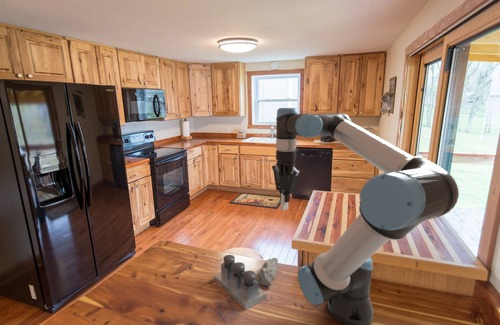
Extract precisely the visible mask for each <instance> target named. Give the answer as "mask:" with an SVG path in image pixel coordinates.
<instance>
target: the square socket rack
mask: <svg viewBox="0 0 500 325" xmlns="http://www.w3.org/2000/svg"><path fill="white" fill-rule="evenodd" d="M214 281H215V282H217V283H218V285H219V286H220V287H222V289H223V290H225V291H226V293H227V294H229V295H230V296H231V297H232V299H234V301H236V303H238V305H240V307H242V309H243V310H244V311H247V310H249V309H251V308H252V307H254V306H256V305H258V304H259V303H261V302H263V301H264V300H265V299H267V293H266V292H265V291H264V290H263V289H262V288H261V287H260V283H259V282H258V280H256V282H255V283H254V284H252V285H250V286H248V285H247V284H246V283H244V274H242V275H240V276H237V275H235V274H234V273H233V266H232V267H229V268H227V267H226V266H225V265H224V262H222V263H221V264H220V272H219V273H215V275H214Z"/></svg>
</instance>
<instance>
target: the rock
mask: <svg viewBox="0 0 500 325" xmlns="http://www.w3.org/2000/svg"><path fill="white" fill-rule="evenodd" d="M278 262H279V260H278V258H277V257H272V258H269V259H267V260H265V262H264V263H263V264H262V267H261V268H260V270H259V271H258V273H257V276H256V280H257V281H258V282H259V284H260V285H262V286H266V287H271V286H272V282H273V280H274V278H275V277H276V275H277V270H278V269H279V267H278V265H279V264H278Z"/></svg>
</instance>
